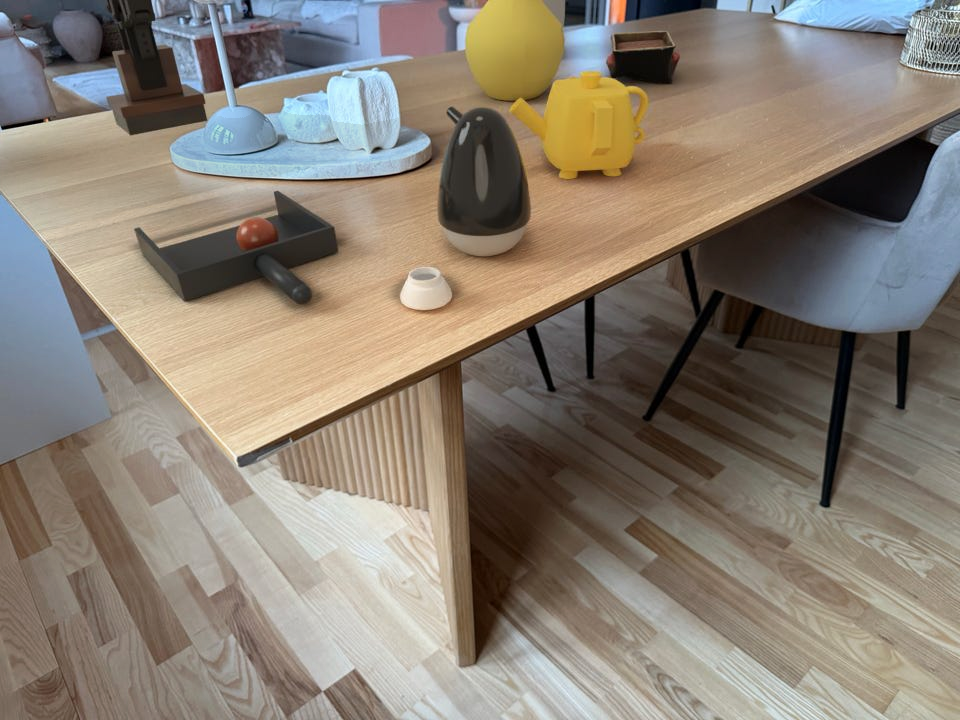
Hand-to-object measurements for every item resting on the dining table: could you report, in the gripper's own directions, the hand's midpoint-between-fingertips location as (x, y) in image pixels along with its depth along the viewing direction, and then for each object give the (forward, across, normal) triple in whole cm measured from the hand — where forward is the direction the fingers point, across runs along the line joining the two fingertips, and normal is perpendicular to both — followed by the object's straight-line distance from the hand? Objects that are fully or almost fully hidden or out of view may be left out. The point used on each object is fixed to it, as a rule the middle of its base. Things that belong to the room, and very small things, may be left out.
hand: (150, 85), depth 82 cm
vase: (+15, +15, -68) cm, 71 cm away
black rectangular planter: (+15, +8, -96) cm, 98 cm away
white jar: (+15, -40, -11) cm, 44 cm away
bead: (+13, -20, -2) cm, 24 cm away
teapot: (+15, -22, -48) cm, 55 cm away
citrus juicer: (+15, +40, -93) cm, 102 cm away
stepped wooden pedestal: (+4, 0, 0) cm, 4 cm away
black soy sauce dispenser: (+15, -34, -23) cm, 44 cm away
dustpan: (+15, -23, -1) cm, 27 cm away
